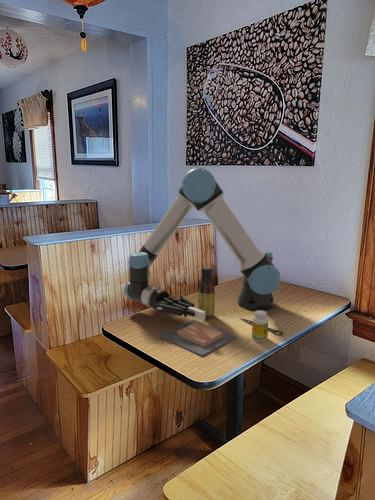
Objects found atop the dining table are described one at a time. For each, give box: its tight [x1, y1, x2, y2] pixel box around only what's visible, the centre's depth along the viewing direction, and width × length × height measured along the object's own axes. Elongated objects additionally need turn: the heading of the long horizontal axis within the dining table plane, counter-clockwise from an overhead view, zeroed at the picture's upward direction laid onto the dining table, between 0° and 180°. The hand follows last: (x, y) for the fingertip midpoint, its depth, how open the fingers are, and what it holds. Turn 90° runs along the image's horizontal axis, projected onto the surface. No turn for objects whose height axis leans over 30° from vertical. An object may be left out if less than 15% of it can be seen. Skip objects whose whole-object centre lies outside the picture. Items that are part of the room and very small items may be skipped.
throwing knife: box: [238, 317, 284, 337], centre depth 136 cm, size 4×20×1 cm, turn 43°
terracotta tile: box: [177, 322, 223, 347], centre depth 125 cm, size 2×10×12 cm
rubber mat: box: [158, 319, 238, 358], centre depth 126 cm, size 20×18×1 cm
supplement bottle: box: [251, 310, 269, 343], centre depth 124 cm, size 5×5×10 cm
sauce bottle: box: [197, 265, 216, 319], centre depth 141 cm, size 7×6×20 cm
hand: (203, 316), depth 122 cm, fingers closed
